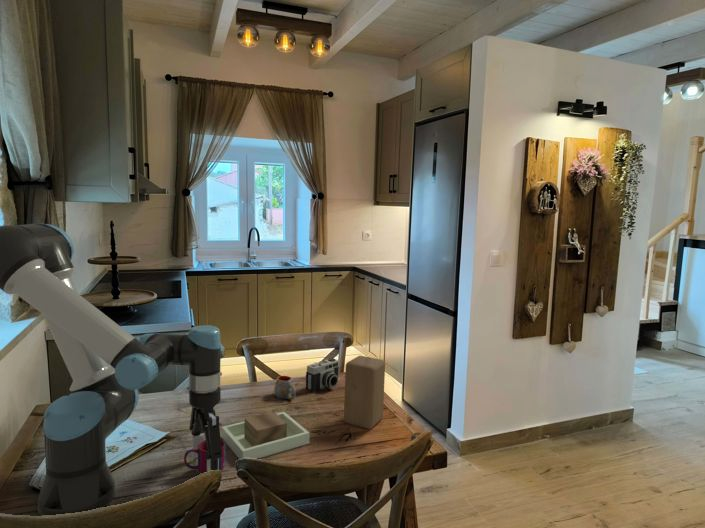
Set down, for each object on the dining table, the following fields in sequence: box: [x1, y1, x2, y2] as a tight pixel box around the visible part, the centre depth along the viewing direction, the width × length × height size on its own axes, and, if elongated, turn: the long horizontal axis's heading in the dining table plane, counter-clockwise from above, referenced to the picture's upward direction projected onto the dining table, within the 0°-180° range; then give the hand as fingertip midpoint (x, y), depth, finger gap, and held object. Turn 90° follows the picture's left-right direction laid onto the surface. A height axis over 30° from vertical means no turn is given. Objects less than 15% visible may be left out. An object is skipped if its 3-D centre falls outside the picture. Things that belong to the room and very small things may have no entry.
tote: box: [221, 411, 311, 460], centre depth 135 cm, size 20×16×4 cm
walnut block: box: [244, 411, 287, 447], centre depth 135 cm, size 9×9×6 cm
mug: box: [273, 375, 297, 401], centre depth 167 cm, size 12×7×7 cm, turn 32°
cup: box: [183, 439, 226, 475], centre depth 120 cm, size 7×10×7 cm
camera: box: [305, 358, 340, 393], centre depth 178 cm, size 14×9×10 cm, turn 130°
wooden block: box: [343, 355, 386, 430], centre depth 151 cm, size 10×10×20 cm
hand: (205, 469), depth 120 cm, fingers open, 11 cm apart
